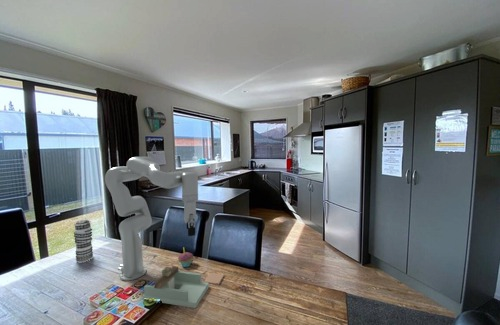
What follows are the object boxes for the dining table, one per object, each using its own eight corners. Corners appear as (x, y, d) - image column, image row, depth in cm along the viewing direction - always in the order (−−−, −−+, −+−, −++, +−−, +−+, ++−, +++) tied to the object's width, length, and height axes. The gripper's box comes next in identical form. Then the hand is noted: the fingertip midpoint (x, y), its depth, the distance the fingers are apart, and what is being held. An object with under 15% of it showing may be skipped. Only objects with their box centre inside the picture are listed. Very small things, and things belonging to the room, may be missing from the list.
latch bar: (154, 288, 92) (154, 277, 92) (173, 270, 107) (172, 260, 106) (160, 288, 92) (160, 277, 92) (178, 270, 106) (178, 261, 106)
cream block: (160, 294, 98) (160, 281, 97) (166, 288, 102) (166, 276, 102) (169, 295, 97) (168, 283, 97) (174, 289, 101) (174, 277, 101)
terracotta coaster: (203, 283, 106) (203, 281, 106) (210, 274, 114) (210, 272, 114) (218, 285, 105) (218, 283, 105) (224, 275, 112) (224, 274, 112)
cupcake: (188, 269, 119) (188, 249, 118) (175, 268, 120) (174, 248, 120) (195, 261, 127) (195, 242, 127) (183, 260, 129) (182, 241, 128)
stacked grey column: (92, 254, 139) (90, 217, 137) (94, 259, 132) (92, 220, 131) (75, 259, 132) (72, 220, 131) (75, 265, 126) (73, 224, 124)
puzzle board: (142, 300, 94) (142, 286, 94) (162, 281, 108) (161, 269, 108) (195, 308, 89) (195, 293, 89) (208, 287, 103) (208, 274, 102)
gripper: (181, 194, 109) (182, 226, 110) (183, 202, 92) (183, 240, 93) (196, 193, 111) (196, 225, 112) (200, 200, 95) (200, 237, 96)
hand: (190, 231), depth 103 cm, fingers open, 9 cm apart
